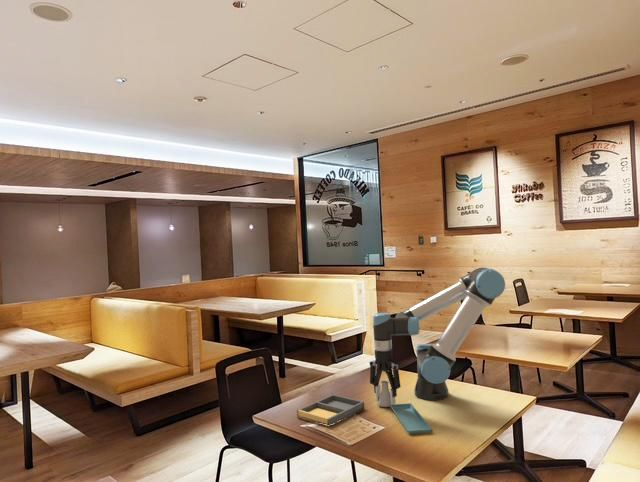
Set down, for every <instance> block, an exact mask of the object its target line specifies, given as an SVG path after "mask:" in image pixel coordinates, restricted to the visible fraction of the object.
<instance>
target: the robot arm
mask: <svg viewBox="0 0 640 482" xmlns="http://www.w3.org/2000/svg"><path fill="white" fill-rule="evenodd" d="M505 281H506V280H505V278H504V276H503V275H502V273H501V272H498V271H497V270H495V269H493V268H487V267H478V268H475V269H474V270H472V271H470V272H469V273H467V274H466V275H464V276H462V277H461V278H459V279H458V281H457V282H456V283H455V284H453V285H450V286H448V287H447V288H445V289H443V290H441V291H439V292H437V293H435V294H434V295H432V296H430V297H428V298H426V299H424V300H422V301H421V302H419V303H417V304H415V305H413V306H412V307H409V308H408V309H406V310H404V311H400V312H398V313H397V314H396V315H395V317H391V314H390V312H389V313H388V312H377V313H374V315H373V316H372V325H373V343H374V344H373V345H374V349H375V350H374V358H375V360H372V361H369V366H370V370H369V383H370V385H373V388H374V393H375V401H376V402H377V403H378V401H379V398H380V394H381V390H382V388H381V385H380V382H381V381H380V380H381V377H382V373H383V372H385V374H386V376H387V379H388V382H389V386H390V388H389V392H390V399H391V405H395V404H396V403H397V402H396V401H397V400H396V397H397V396H398V395H397V394H398V393H397V391H398V390H397V389H399V388H401V387H402V386H401V378H400V373H399V367H400V365H399V364H398V363H397V364H395V363H394V362H393V344H392V342H393V341H392V340H393V339H392V336H414V335H415V336H417V335H419V334H420V322H422V321H424V320H426V319H428V318H430V317H432V316H434V315H435V314H438V313H440V312H441V311H444V310H445V309H446V308H449V307H450V306H452V305H455V304H456V303H458V302H460V301H462V300H463V301H462V303H461V304H460V305H459V307H458V309H457V311H456V312H455V313H454V315H453V317H452V318H451V320H450V322H449V323H448V324H447V327H446V328H445V330H444V331H443V333H442V334H441V336H440V337H439V338H438V340H437V342H436V343H435V342H434V343H421V344H417V346H416V350H415V351H416V362H417V367H416V368H417V380H416V382H415V386H414V396H415V397H417V398H419V399H422V400H428V401H439V400H444V399H445V400H446V399H447V398H449V396H450V395H449V388H448V386H447V383H446V381H447V380H448V379H449V377H450V375H451V372H452V370H451V369H452V367H453V365H454V364H455V362H456V360H457V359H456V353H457V352H458V350H459V349H460V347H461V346H462V344H463V342H464V341H465V339H466V338H467V337H468V334H469V333H470V331H471V329H473V327H474V325H475V324H476V322H477V320H478V319H479V317H480V315H481V314H482V313H483V311H484V309H485V308H486V307H489V306H490V307H491V306H492V305H493V303H494V301H495V300H496V298H499V297H500V296H501V295H502V294H503V293H504V291H505V288H506V282H505Z"/></svg>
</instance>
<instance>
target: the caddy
mask: <svg viewBox="0 0 640 482" xmlns="http://www.w3.org/2000/svg"><path fill="white" fill-rule="evenodd" d="M363 410H365V402H364V401H361V400H358V399H354V398H349V397H345V396H342V395H338V394H337V395H336V394H331V395H328V396H326V397H324V398H321V399H319V400H316V401H315V402H313V403H309V404H308V405H306V406H303V407H301V408H299V409H297V410H296V418H298V419H301V420H304V421H308V422H311V423H314V422H317V423H323V424H327V425H330V424H333V423H335V422H337V421H339V420H342V419H344V418H346V417H348V416H350V415H352V416H354V415H355V414H357V413H360V412H361V411H363ZM353 414H354V415H353ZM350 417H351V416H350ZM348 418H349V417H348ZM346 419H347V418H346ZM344 420H345V419H344ZM342 421H343V420H342ZM317 423H316V424H317Z"/></svg>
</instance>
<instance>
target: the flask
mask: <svg viewBox="0 0 640 482" xmlns="http://www.w3.org/2000/svg"><path fill="white" fill-rule="evenodd" d="M380 383H381V394H380V398H379V401H378V402H377V405H378V406H379V407H382V408H389V407H390V408H391V406H390V405H391V399H390V388H389V384H390V382H389V380H381V381H380Z"/></svg>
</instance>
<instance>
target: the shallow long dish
mask: <svg viewBox="0 0 640 482" xmlns="http://www.w3.org/2000/svg"><path fill="white" fill-rule="evenodd" d="M390 406H391V407H390V408H391V410H392V412H393V413H394V414H395V417H397V419H398V420H399V422H400V423H401V425H402V426H403V428H404V429H405V431H406V433H407V434H409V435H417V434H418V435H419V434H430V433H431V431H432V428H431V426H430V425H429V424H428V423H427V422H426V420H425V419H424V418H423V417H422V415H421V414H420V413H419V412H418V410H417V409H416V407H415V406H413V404H412V403H411V402H410V403H399V404H398V403H397V404H396V403H395V404H394V405H390Z"/></svg>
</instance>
